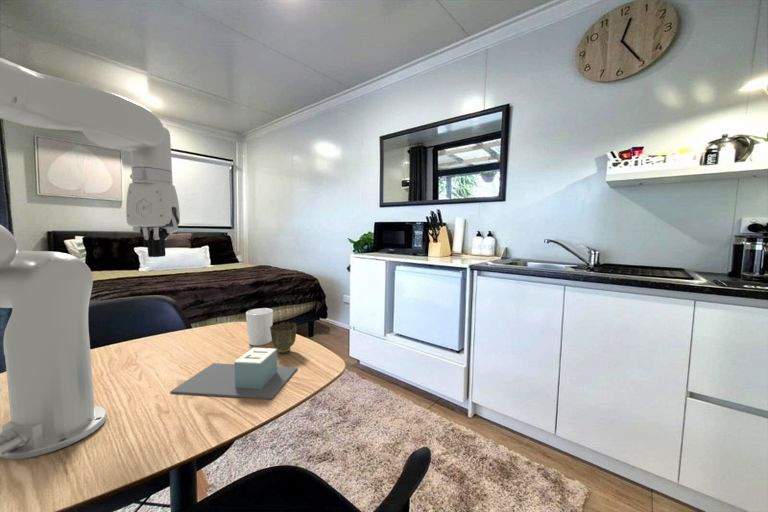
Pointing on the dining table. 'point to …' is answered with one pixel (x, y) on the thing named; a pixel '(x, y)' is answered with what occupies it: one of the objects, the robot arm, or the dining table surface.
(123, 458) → the dining table surface
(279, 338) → the cup
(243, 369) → the teal block
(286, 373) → the rubber mat
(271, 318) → the white cup
